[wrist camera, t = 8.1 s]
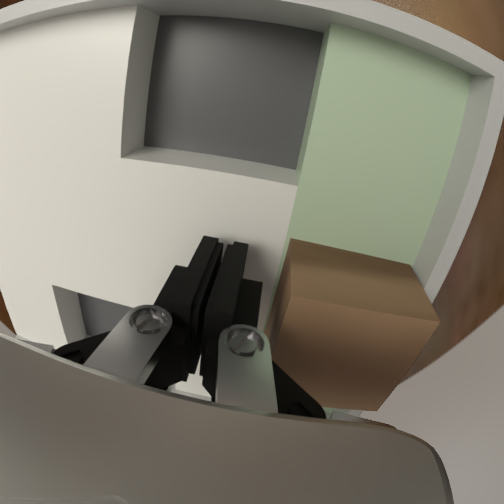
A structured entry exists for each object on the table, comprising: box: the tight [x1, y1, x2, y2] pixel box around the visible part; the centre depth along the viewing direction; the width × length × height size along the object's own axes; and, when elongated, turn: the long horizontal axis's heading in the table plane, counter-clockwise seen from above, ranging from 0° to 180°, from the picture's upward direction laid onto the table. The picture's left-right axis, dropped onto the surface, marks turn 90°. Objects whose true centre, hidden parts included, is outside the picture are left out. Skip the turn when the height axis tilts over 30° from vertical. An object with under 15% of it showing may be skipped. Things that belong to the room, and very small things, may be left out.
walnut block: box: [264, 238, 440, 411], centre depth 12 cm, size 5×5×4 cm
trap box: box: [0, 0, 504, 417], centre depth 13 cm, size 20×22×4 cm
